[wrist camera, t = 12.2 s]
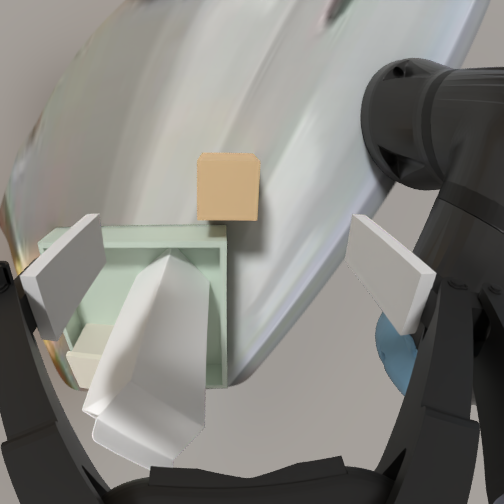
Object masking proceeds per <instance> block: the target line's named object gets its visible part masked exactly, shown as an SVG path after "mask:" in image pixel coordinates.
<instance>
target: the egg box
mask: <svg viewBox="0 0 504 504" xmlns="http://www.w3.org/2000/svg"><path fill="white" fill-rule="evenodd" d="M113 327H114V325H106V324H92V323H86V325H85V327H84V329H83V330H82V332H81V334H80V336H79V338H78V340H77V342H76V344H75V346H74V348H73V350H72V352H71V351H68V352H67V354H66V357H67V360H68V362H69V364H70V367H71V369H72V371H73V373H74V375H75V378H76V380H77V382H78V384H79V386H80V387H81V388H88V389H89V388H90V385H91V383H92V380H93V377H94V374H95V372H96V369H97V367H98V364H99V361H100V359H101V356H102V354H103V351H104V349H105V346H106V344H107V342H108V339H109V337H110V334H111V332H112V330H113Z"/></svg>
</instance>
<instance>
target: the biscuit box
mask: <svg viewBox="0 0 504 504" xmlns="http://www.w3.org/2000/svg"><path fill="white" fill-rule="evenodd" d="M259 178H260V161H259V160H258V158H257V157H256V156H255V155H254V154H250V153H202V154H201V155H200V157H199V159H198V160H197V220H246V221H257V215H258V197H259Z"/></svg>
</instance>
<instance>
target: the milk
mask: <svg viewBox="0 0 504 504" xmlns="http://www.w3.org/2000/svg"><path fill="white" fill-rule="evenodd" d="M209 288H210V281H209V280H208V279H207V278H206V277H205V276H204V275H203V274H202V273H201V272H200V271H199V270H198V269H197V268H196V267H195V266H194V265H193V264H192V263H191V262H190V261H189V260H188V259H187V258H186V257H185V256H184V255H183V254H182V252H181V251H180V250H179V249H178V248H168V249H167V250H165V251H164V252H163V253H162V254H161V255H160V256H158V257H157V258H156V259H155V260H154V261H153V262H151V263H150V264H149V265H148V266H147V267H146V268H145V269H143V270H142V271H141V272H140V273H139V274H138V275H137V276H136V278H135V280H134V283H133V285H132V287H131V289H130V291H129V293H128V296H127V298H126V300H125V302H124V304H123V307H122V309H121V311H120V313H119V316H118V318H117V320H116V323H115V325H114V327H113V330H112V332H111V334H110V337H109V339H108V342H107V344H106V346H105V349H104V351H103V354H102V356H101V359H100V361H99V364H98V367H97V369H96V372H95V374H94V377H93V380H92V383H91V385H90V388H89V391H88V394H87V397H86V400H85V402H84V405H83V408H82V411H83V412H85V413H86V414H88V415H89V416H91V417H93V418H94V419H96V421H95V425H94V428H93V432H92V438H93V440H94V441H95V442H96V443H98V444H100V445H101V446H103V447H105V448H107V449H109V450H110V451H112V452H114V453H116V454H118V455H120V456H122V457H124V458H126V459H128V460H130V461H132V462H134V463H136V464H138V465H140V466H142V467H144V468H146V469H149V470H150V466H157V467H170V468H173V461H174V459H175V458H176V457H177V456H178V455H179V454H180V453H181V452H182V451H183V450H184V449H185V448H186V447H187V446H188V445H189V444H190V443H191V442H192V441H193V440H194V439H195V438H196V436H198V434H199V433H200V432H201V431H202V430H203V429H204V427H205V388H206V353H207V328H208V306H209Z"/></svg>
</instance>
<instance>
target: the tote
mask: <svg viewBox="0 0 504 504" xmlns="http://www.w3.org/2000/svg"><path fill="white" fill-rule="evenodd" d="M70 228H71V227H59V228H55V229H54V230H53V231H51V232H50V233H49V234H48V235H46V236H45V237H44V238H43V239H42V240H40V241H39V242H38V247H39V251H40V255H41V254H42V253H44V252H45V251H46V250H47V249H48V248H49V247H50V246H51V245H52V244H53V243H54V242H55V241H56V240H58V239H59V238H60V237H61V236H62V235H63V234H64V233H65V232H67V231H68V230H69V229H70ZM101 229H102V236H103V243H104V250H105V256H106V264H105V265H104V267H103V268H102V270H101V271H100V273H99V274H98V276H97V277H96V279H95V280H94V282H93V283H92V285H91V286H90V288H89V290H88V291H87V293H86V294H85V296H84V297H83V299H82V301H81V302H80V304H79V305H78V307H77V309H76V310H75V312H74V314H73V315H72V317H71V319H70V320H69V322H68V324H67V325H66V327H65V329H64V331H63V333H64V335H65V338H66V341H67V343H68V346H69V348H70V351H71V352H72V350H73V348H74V346H75V344H76V342H77V340H78V338H79V336H80V334H81V332H82V330H83V329H84V327H85V325H86V323H92V324H106V325H115V323H116V320H117V318H118V316H119V313H120V311H121V309H122V307H123V304H124V302H125V300H126V298H127V296H128V293H129V291H130V289H131V287H132V285H133V283H134V280H135V278H136V276H137V275H138V274H139V273H140V272H141V271H142V270H143V269H145V268H146V267H147V266H148V265H149V264H150V263H151V262H153V261H154V260H155V259H156V258H157V257H158V256H160V255H161V254H162V253H163V252H164V251H165V250H167V249H168V248H178V249H179V250H180V251H181V252H182V254H183V255H184V256H185V257H186V258H187V259H188V260H189V261H190V262H191V263H192V264H193V265H194V266H195V267H196V268H197V269H198V270H199V271H200V272H201V273H202V274H203V275H204V276H205V277H206V278H207V279H208V280H209V281H210V288H209V306H208V328H207V353H206V388H227V234H226V225H136V226H101Z"/></svg>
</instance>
